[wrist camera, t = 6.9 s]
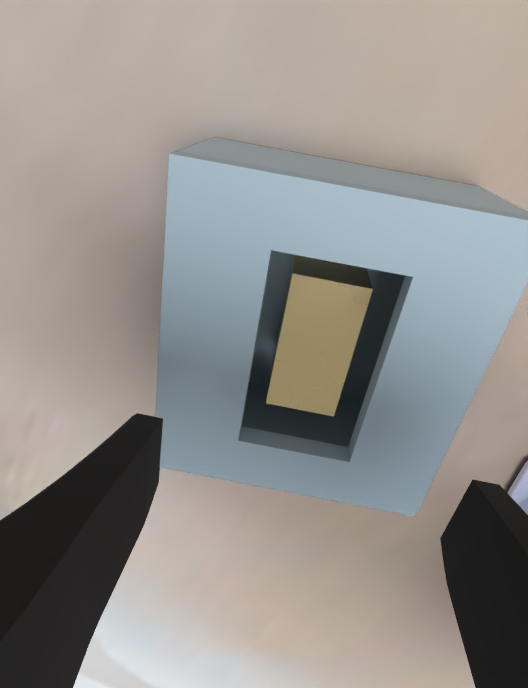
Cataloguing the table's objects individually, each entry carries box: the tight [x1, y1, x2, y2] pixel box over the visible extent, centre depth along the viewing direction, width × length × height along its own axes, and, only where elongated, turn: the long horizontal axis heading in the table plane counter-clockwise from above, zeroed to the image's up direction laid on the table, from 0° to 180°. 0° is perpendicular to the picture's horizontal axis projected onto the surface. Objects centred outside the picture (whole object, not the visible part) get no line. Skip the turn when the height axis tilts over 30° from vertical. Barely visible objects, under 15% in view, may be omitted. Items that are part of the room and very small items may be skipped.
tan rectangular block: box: [266, 255, 373, 416], centre depth 17 cm, size 2×5×4 cm, turn 171°
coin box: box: [155, 137, 528, 517], centre depth 17 cm, size 10×11×6 cm
